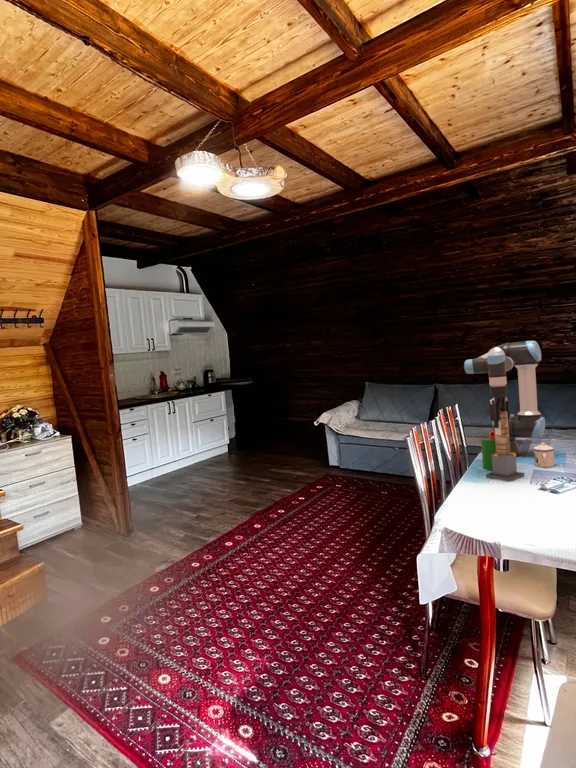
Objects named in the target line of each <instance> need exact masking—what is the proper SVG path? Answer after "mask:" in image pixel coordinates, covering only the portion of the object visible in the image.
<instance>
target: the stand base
mask: <svg viewBox="0 0 576 768" xmlns="http://www.w3.org/2000/svg"><path fill="white" fill-rule="evenodd" d="M491 457H492V470H493V471H490V472H489V473H486V474H485V478H487V479H492V480H493V479H494V480H499V481H504V482H508V483H509V482H513V481H515V480H517V479H520V478H524V477H525V473H524V472H519V471H518V469H517V468H518V467H517V466H518V465H517V456H516V453H513V452H510V454H507V455H501V454H500V453H492V454H491Z"/></svg>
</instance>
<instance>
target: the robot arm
mask: <svg viewBox="0 0 576 768" xmlns="http://www.w3.org/2000/svg"><path fill="white" fill-rule="evenodd" d="M540 361H542V351H541V348H540V345H539V343H538V342H537V341H535V340H525V341H516V342H506V343H502V344H500V345H499V344H498V345H496V346H494V347H493V348H491V349H489V350H488V351H487V353H485V354H483V355H481V356H479V357H476V358H471V359H470V358H469V359H466V360H465V361H464V363H463V364H464V365H463V368H464V371H465V373H466V374H467V375H470V374H471V375H474V374H485V373H487V374H488V380H489V381H488V382H489V394H490V395H492V397H491V399H488V401H487V402H488V406H489V415H490V421H491V422H492V423H491V424H492V425H491V426H492V431H494V433H495V434H494V440H495V435H501V421H499V416H500V411H507V416H508V427H509V428H508V429H509V442H510V452H513V453H516V457H519V456H521V449H520V448H519V446H518V443H517V438H525V439H540V438H542V437H543V436H544V433H545V430H546V418H545V417H543V416H542V413H541V412H540V411H539V410H538V398H537V396H538V393H537V392H538V391H537V378H536V368H537V366H538V365H539V362H540ZM513 367H515V368H516V370H517V376H518V377H517V380H518V381H517V382H518V399H519V411H518V413H517V414H516V416H515V414H511V408H510V405H511V404H510V400H511V397H510V396H506V394H508V386H507V384H508V381H507V372H509V371H510V370H512V369H513ZM494 427H495V430H494Z"/></svg>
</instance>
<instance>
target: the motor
mask: <svg viewBox="0 0 576 768" xmlns="http://www.w3.org/2000/svg"><path fill="white" fill-rule="evenodd" d="M480 445H481V458H482V469H483V470H486V471H490V472H493V470H492V457H491V454H492V453H496V444H495V440H494V431H493V430H492V431H491V430H490V431H489V439H484V438H483V437H482V438H480Z"/></svg>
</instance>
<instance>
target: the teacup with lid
mask: <svg viewBox="0 0 576 768" xmlns="http://www.w3.org/2000/svg"><path fill="white" fill-rule="evenodd" d="M554 450H555V449H554V447H553V446H549V445H548V444H546V443H545V442H541V443H540V444H538V445H537V446H534V447H533V454H534V455H533V456H534V465H535V466H536V467H539V468H551V467H553V468H554V466H555V456H554Z"/></svg>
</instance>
